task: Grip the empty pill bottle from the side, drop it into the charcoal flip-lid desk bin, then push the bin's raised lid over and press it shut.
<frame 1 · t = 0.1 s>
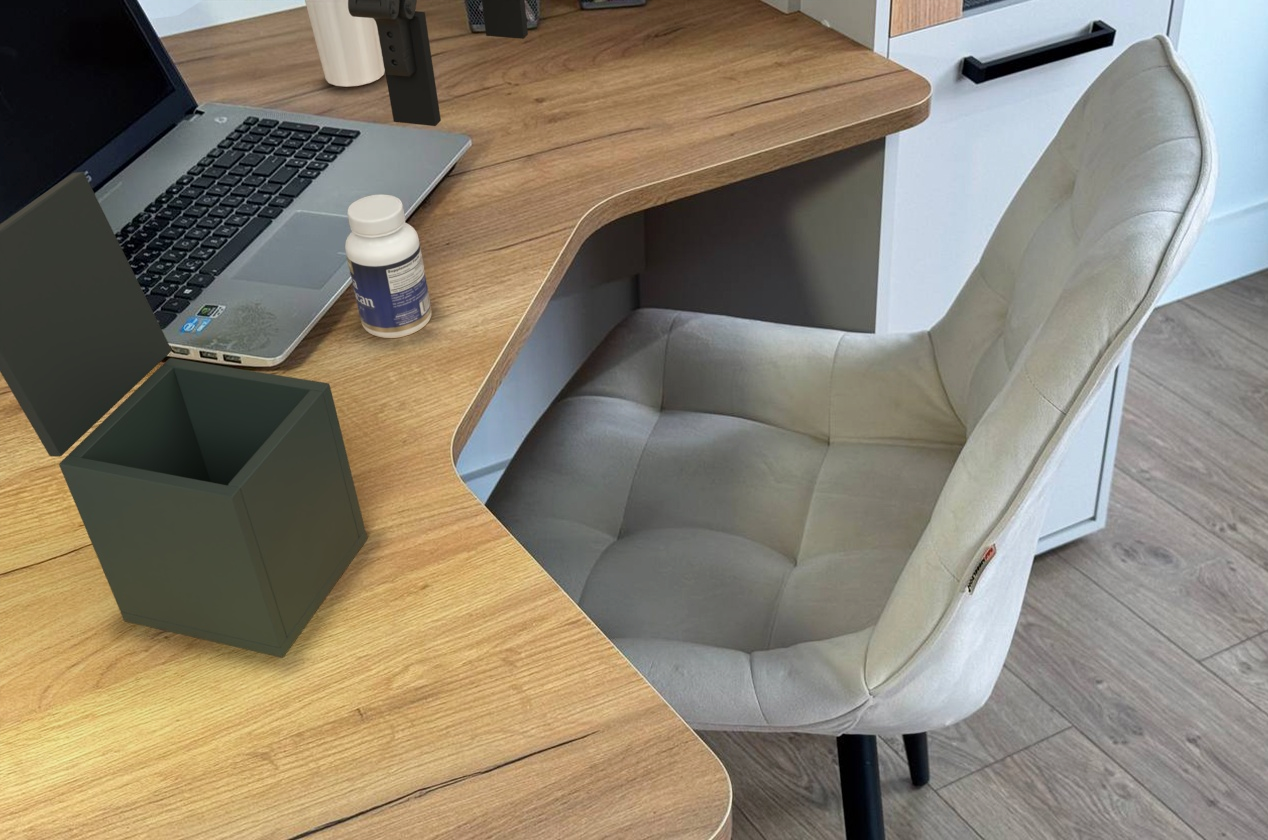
hand: (465, 76, 82), 22 cm above the table, tool pointing down, fingers open, 13 cm apart
cup: (356, 79, 139), on the table
pill bottle: (397, 322, 100), on the table
trash bin: (249, 579, 78), on the table
trash lid: (66, 313, 69), point 18 cm above the table, hinge at 100.0°
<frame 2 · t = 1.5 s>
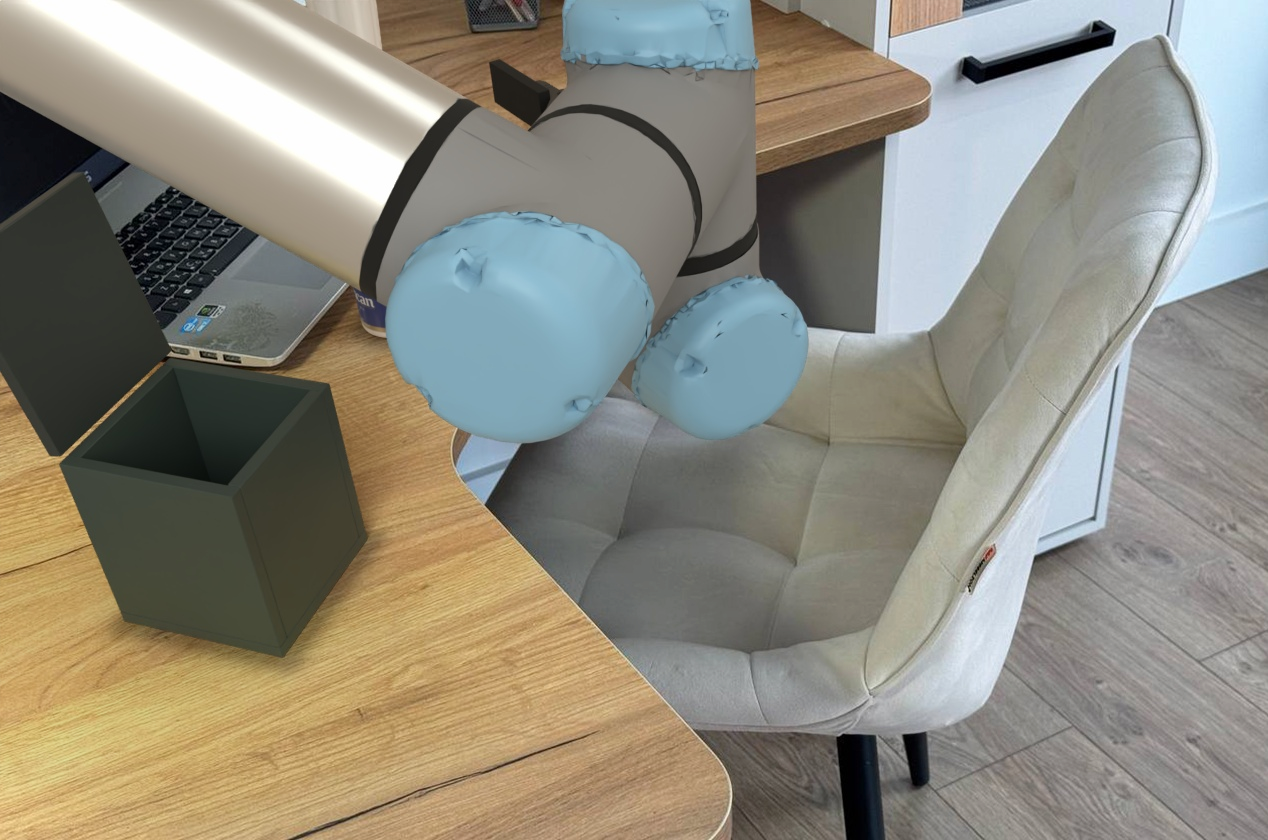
hand: (399, 109, 81), 20 cm above the table, tool horizontal, fingers open, 13 cm apart
nothing on the table moved.
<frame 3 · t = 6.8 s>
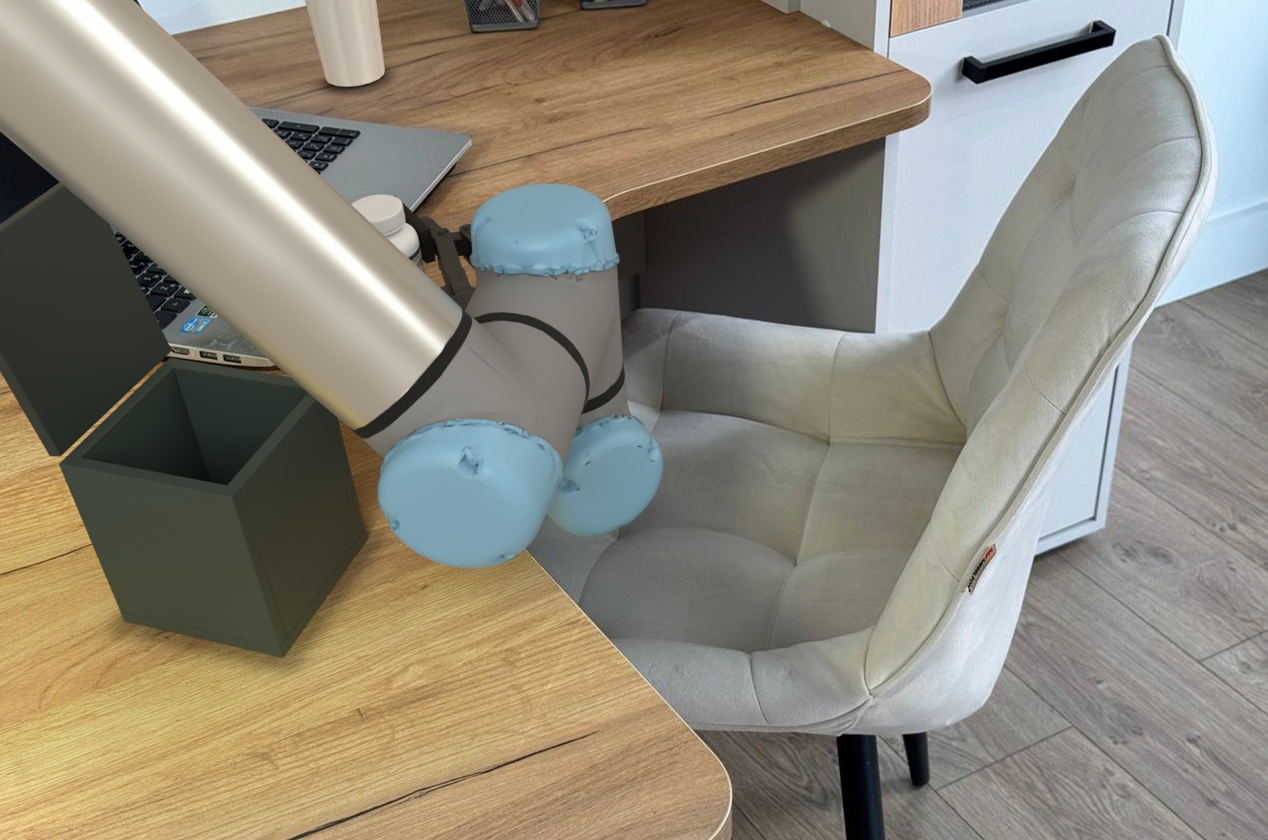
hand: (357, 224, 100), 6 cm above the table, tool horizontal, fingers closed on pill bottle, 5 cm apart
pill bottle: (397, 322, 100), on the table, touching gripper
everything else where it was.
when the fingers open (26 cm above the table, at t = 17.3 s): pill bottle drops 19 cm, resting on trash bin.
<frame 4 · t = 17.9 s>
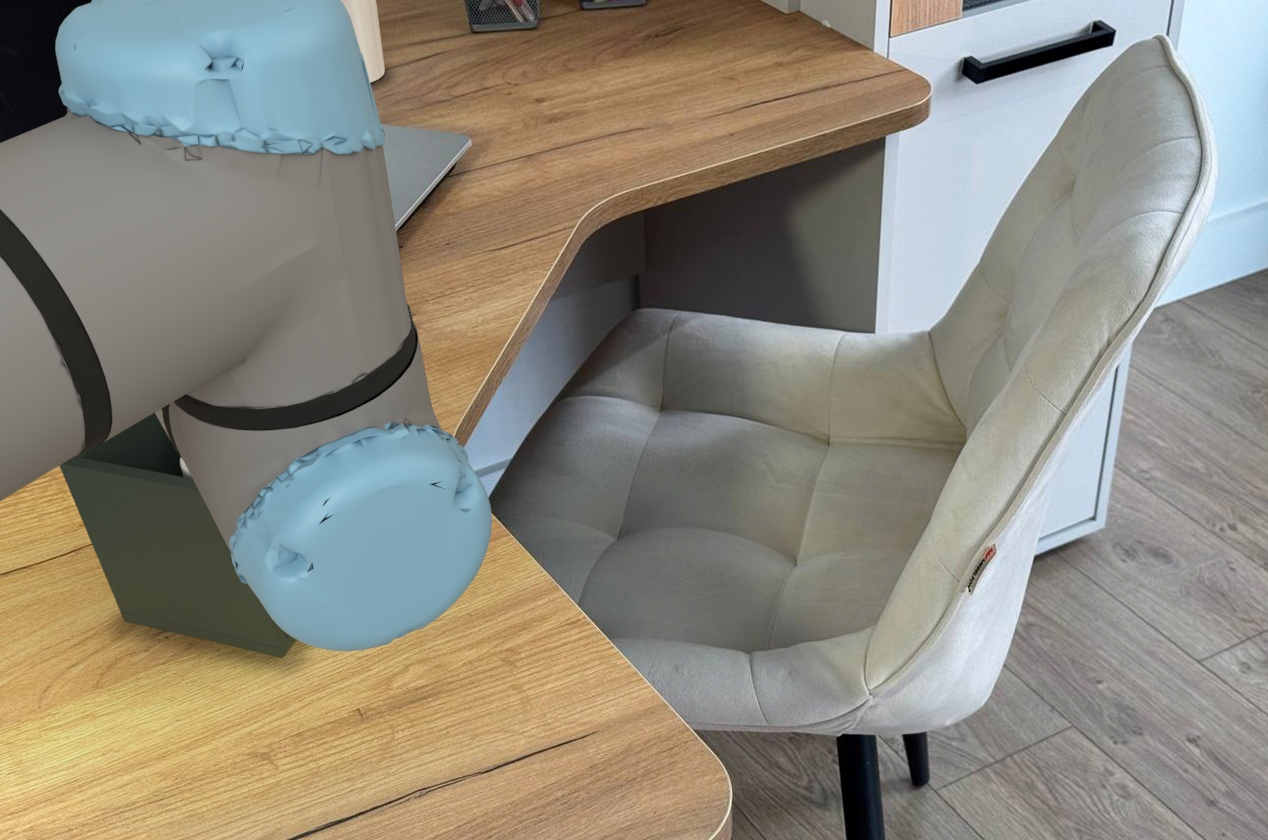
hand: (97, 140, 64), 27 cm above the table, tool horizontal, fingers open, 13 cm apart
pill bottle: (257, 586, 77), point 1 cm above the table, touching trash bin
everything else where it was.
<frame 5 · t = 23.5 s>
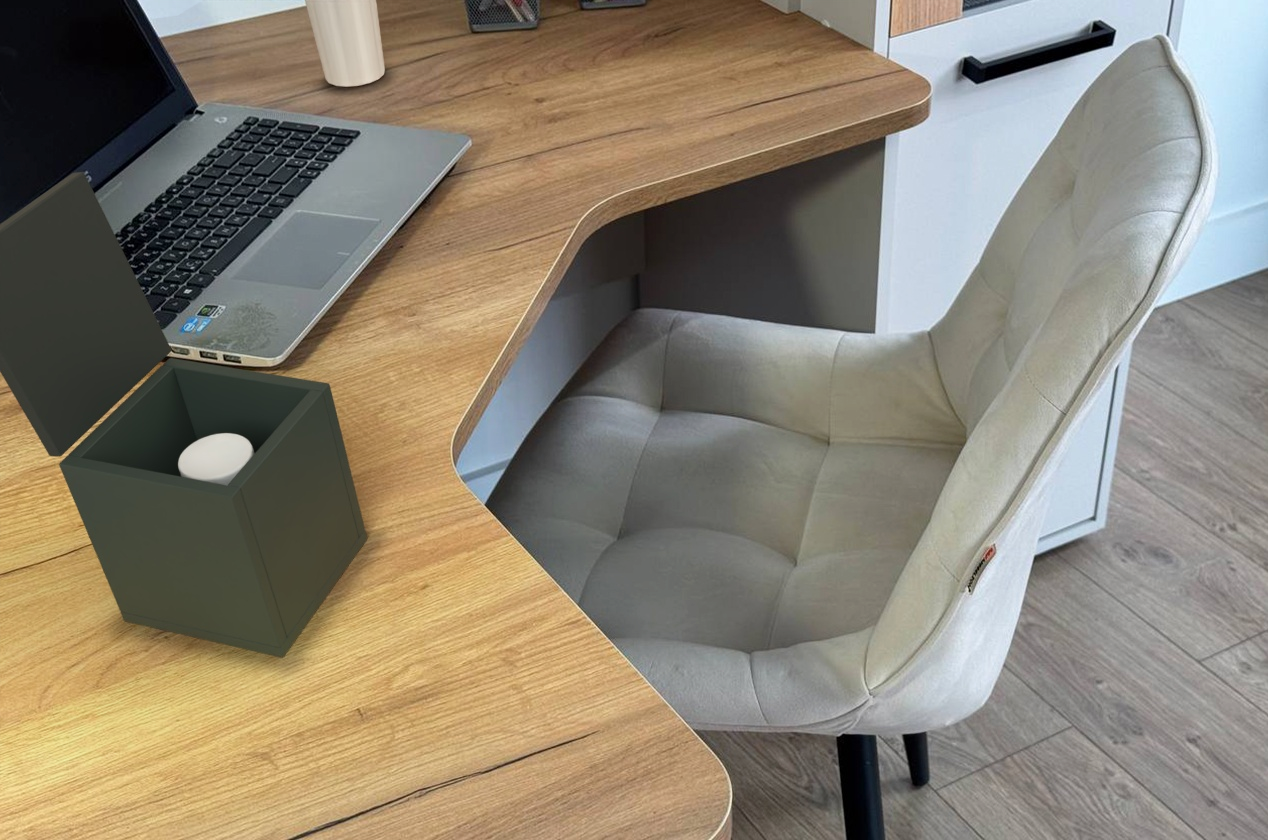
nothing on the table moved.
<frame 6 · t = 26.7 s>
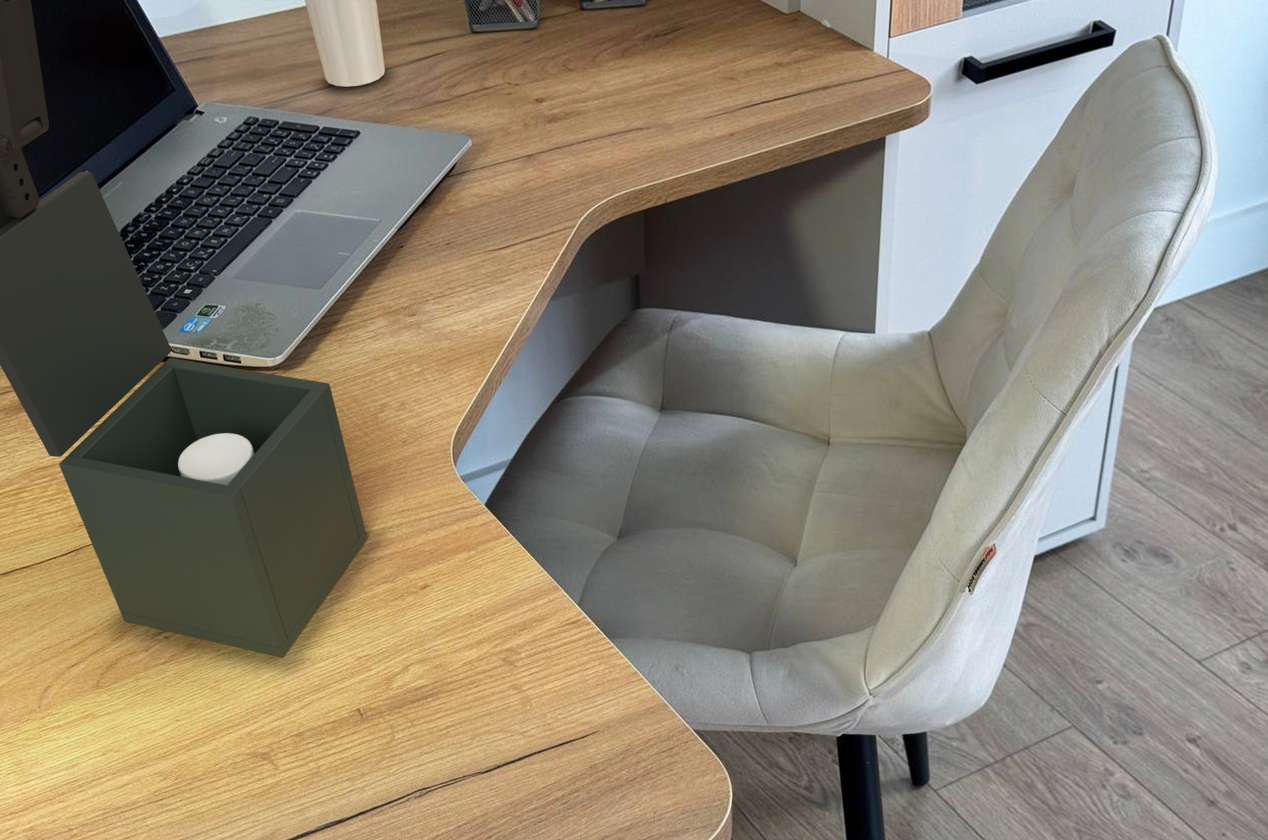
hand: (25, 266, 68), 21 cm above the table, tool pointing down, fingers closed
trash lid: (70, 313, 69), point 18 cm above the table, hinge at 97.4°, touching gripper
everything else where it was.
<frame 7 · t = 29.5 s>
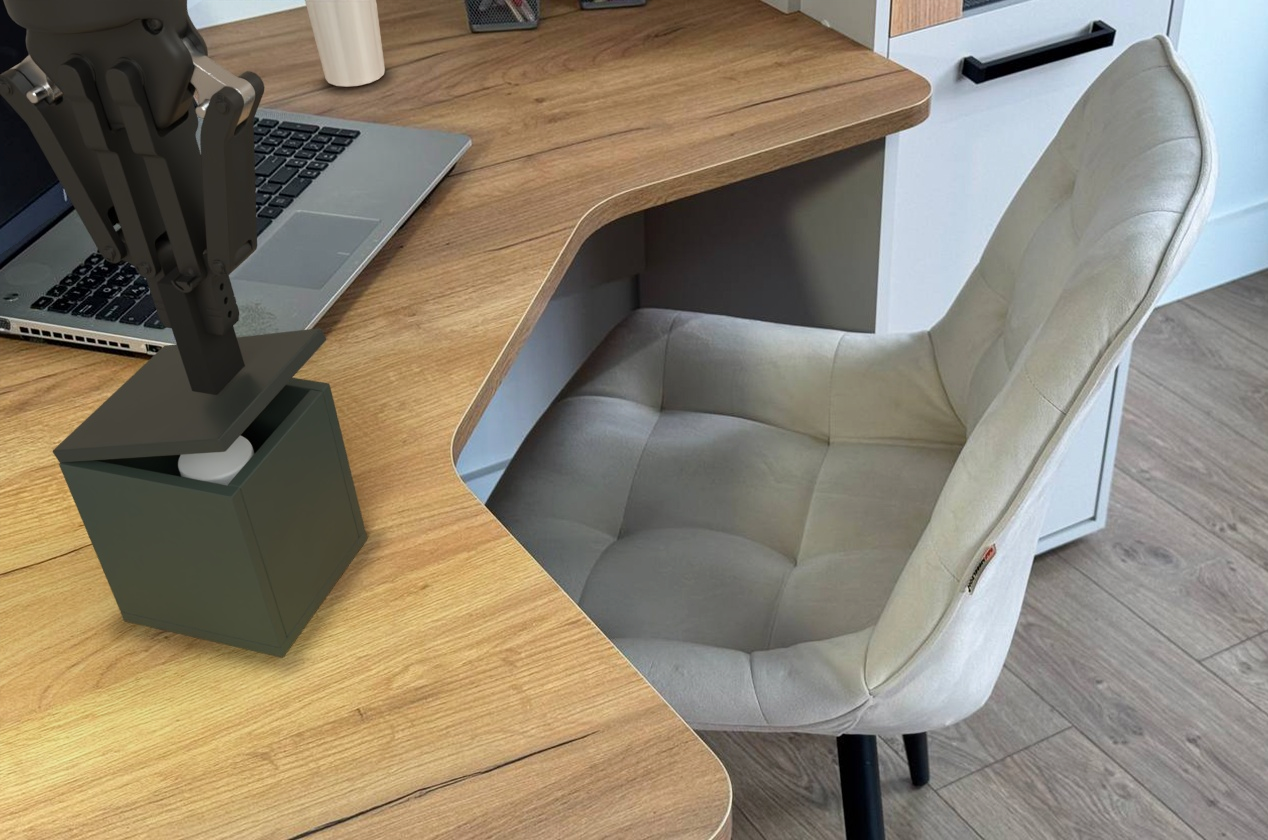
hand: (218, 377, 68), 15 cm above the table, tool pointing down, fingers closed
trash lid: (192, 394, 70), point 14 cm above the table, hinge at 14.8°, touching gripper
everything else where it was.
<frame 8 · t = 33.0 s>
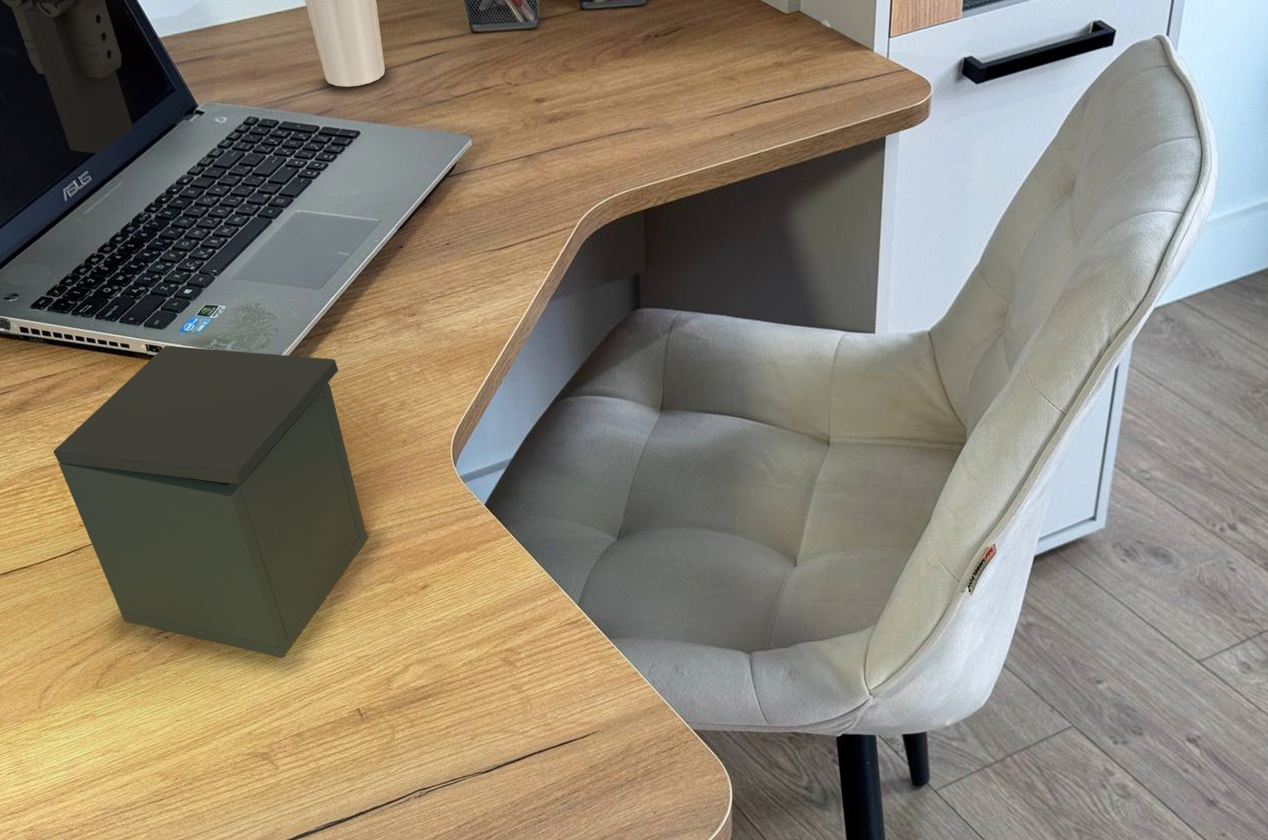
hand: (102, 138, 61), 28 cm above the table, tool pointing down, fingers closed
trash lid: (199, 409, 70), point 13 cm above the table, hinge at 4.6°
everything else where it was.
at the end: pill bottle inside the target area in the trash bin (1.6 cm from its centre), point 0.6 cm above the trash bin's base; trash lid at +5° (first picture: +100°) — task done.
